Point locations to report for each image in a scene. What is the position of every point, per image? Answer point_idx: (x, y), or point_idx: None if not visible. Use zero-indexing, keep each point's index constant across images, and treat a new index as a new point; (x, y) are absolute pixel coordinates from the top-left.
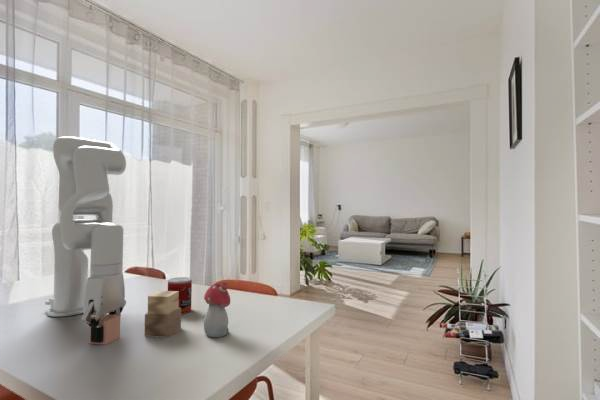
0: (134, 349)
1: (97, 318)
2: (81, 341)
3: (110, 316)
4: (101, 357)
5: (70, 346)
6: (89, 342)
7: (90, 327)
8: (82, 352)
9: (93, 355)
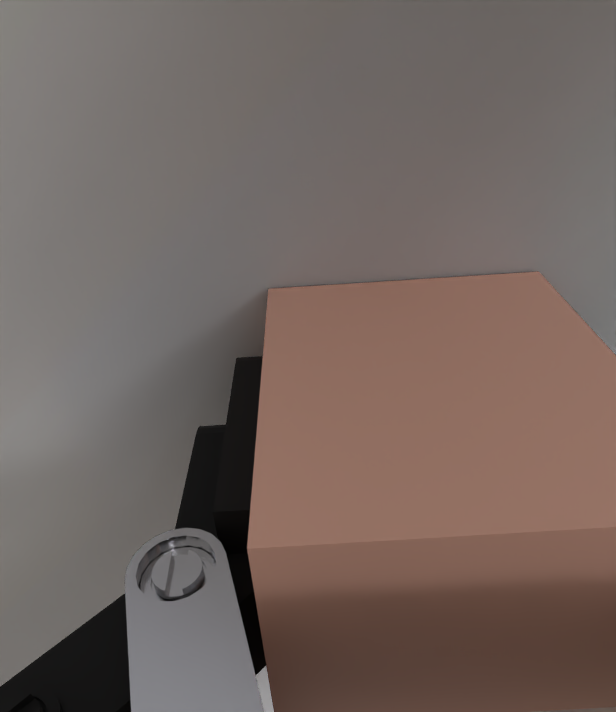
0: (264, 701)
1: (404, 594)
2: (302, 104)
3: (556, 702)
4: (56, 613)
5: (99, 102)
6: (268, 294)
7: (259, 440)
8: (45, 412)
9: (51, 543)
